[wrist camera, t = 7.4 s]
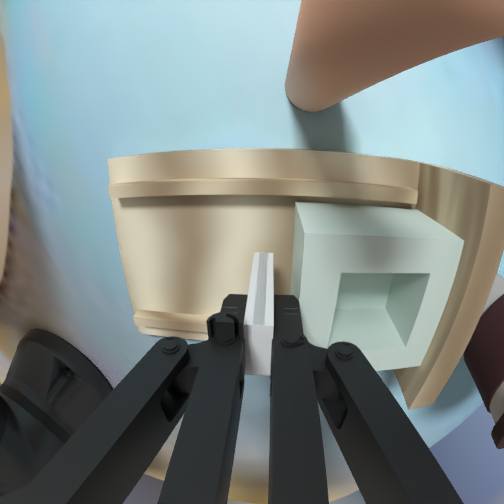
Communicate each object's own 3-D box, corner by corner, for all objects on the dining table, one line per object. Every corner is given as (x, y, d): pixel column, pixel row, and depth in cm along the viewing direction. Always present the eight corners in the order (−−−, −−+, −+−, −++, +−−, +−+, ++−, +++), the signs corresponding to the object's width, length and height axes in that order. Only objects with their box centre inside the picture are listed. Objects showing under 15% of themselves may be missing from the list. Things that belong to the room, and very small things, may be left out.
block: (288, 316, 19) (290, 374, 14) (295, 201, 16) (304, 233, 11) (393, 314, 19) (419, 365, 14) (417, 209, 15) (464, 240, 10)
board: (144, 324, 23) (103, 393, 15) (116, 157, 17) (33, 179, 10) (398, 332, 21) (432, 404, 13) (435, 164, 15) (515, 191, 8)
